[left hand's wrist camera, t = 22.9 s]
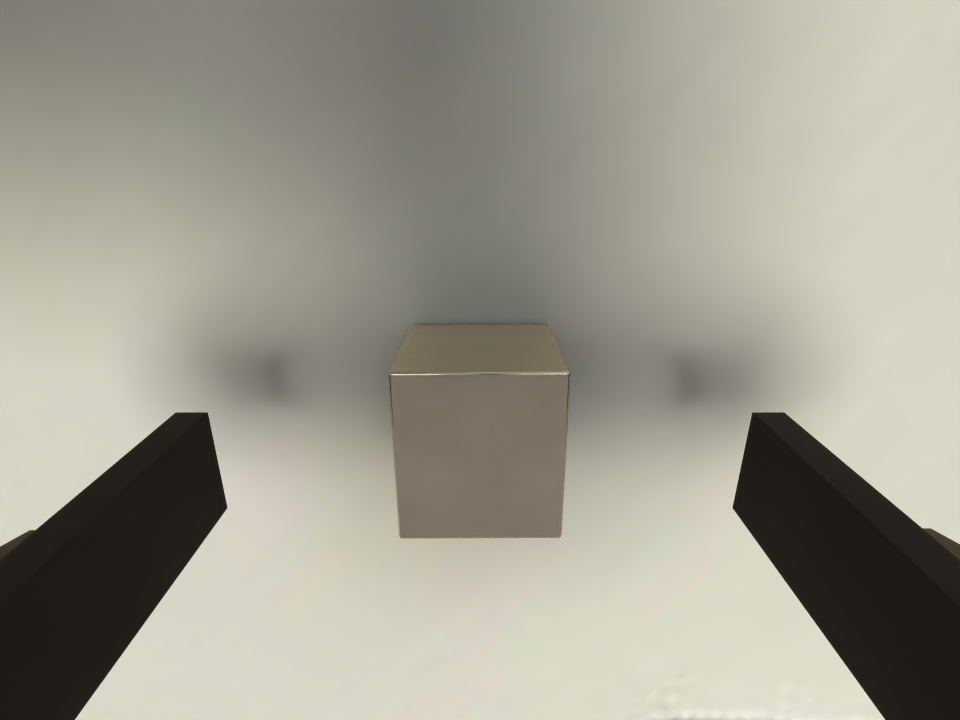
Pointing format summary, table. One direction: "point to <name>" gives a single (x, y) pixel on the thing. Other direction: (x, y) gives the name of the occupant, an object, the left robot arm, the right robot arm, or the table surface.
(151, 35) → the table surface
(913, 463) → the table surface
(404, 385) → the block
